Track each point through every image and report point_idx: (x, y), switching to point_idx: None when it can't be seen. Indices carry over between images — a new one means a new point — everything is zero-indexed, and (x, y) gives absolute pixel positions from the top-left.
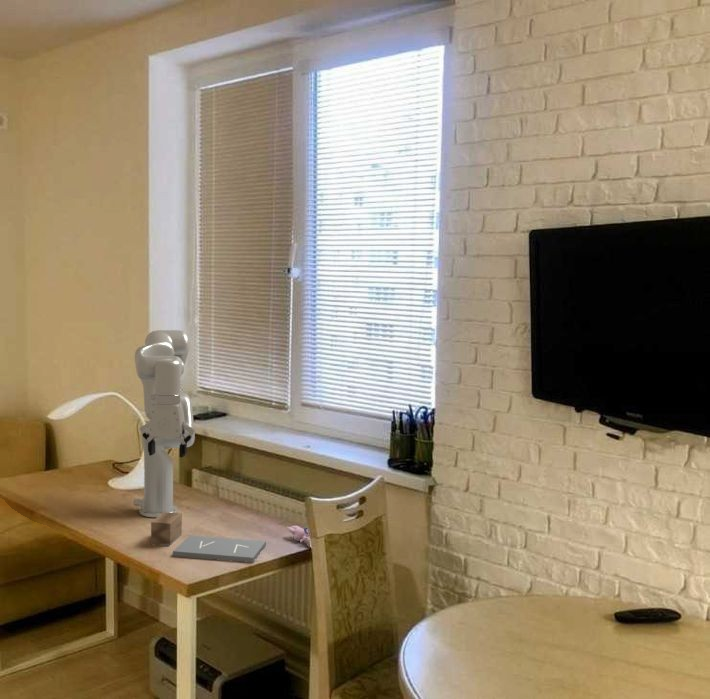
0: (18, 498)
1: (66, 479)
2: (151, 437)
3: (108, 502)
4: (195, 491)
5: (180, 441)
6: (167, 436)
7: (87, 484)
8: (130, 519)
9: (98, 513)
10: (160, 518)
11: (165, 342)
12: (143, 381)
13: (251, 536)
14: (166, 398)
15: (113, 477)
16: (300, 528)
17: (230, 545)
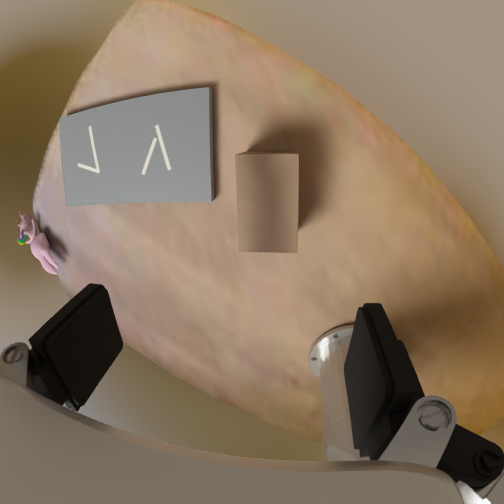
0: None
1: (481, 417)
2: (402, 460)
3: (439, 373)
4: (306, 436)
5: (23, 368)
6: (53, 426)
7: (461, 416)
8: (394, 307)
9: (453, 323)
10: (284, 194)
11: None
12: None
13: (110, 249)
14: None
15: None
16: (33, 251)
17: (107, 162)
